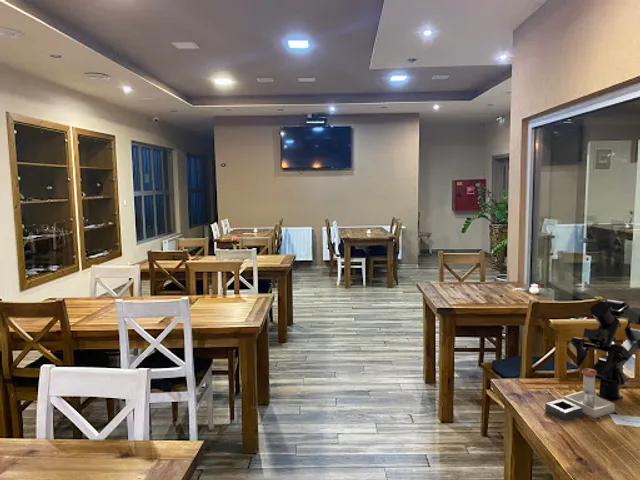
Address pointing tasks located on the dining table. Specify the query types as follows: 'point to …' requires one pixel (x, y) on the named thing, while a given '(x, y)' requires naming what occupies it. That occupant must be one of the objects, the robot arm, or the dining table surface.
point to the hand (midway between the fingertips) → (590, 368)
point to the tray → (600, 408)
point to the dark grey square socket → (563, 409)
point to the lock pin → (589, 387)
